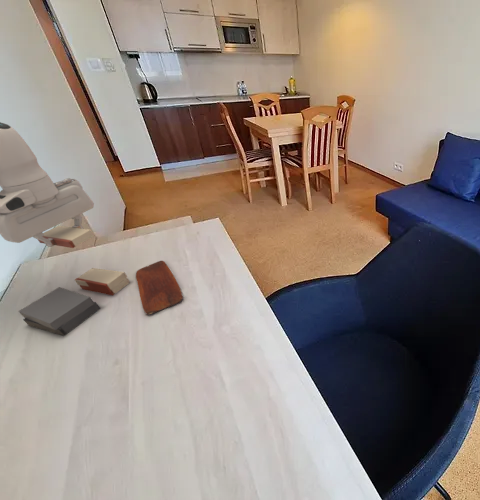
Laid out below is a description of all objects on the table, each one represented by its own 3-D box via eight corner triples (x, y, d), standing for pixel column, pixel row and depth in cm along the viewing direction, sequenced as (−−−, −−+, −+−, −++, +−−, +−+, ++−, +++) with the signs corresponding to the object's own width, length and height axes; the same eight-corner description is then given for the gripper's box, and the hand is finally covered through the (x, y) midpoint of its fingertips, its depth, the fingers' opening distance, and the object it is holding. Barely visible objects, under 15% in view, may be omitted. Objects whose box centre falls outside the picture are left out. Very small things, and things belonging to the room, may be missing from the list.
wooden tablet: (185, 301, 86) (183, 296, 85) (146, 318, 81) (144, 314, 80) (167, 259, 104) (165, 255, 103) (134, 272, 99) (132, 268, 98)
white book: (40, 243, 82) (35, 236, 81) (63, 231, 87) (58, 225, 86) (73, 248, 79) (68, 241, 78) (95, 236, 83) (91, 229, 82)
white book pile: (81, 289, 93) (73, 279, 91) (101, 276, 99) (94, 266, 96) (112, 296, 90) (105, 286, 87) (131, 282, 95) (125, 272, 93)
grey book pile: (26, 326, 82) (13, 313, 79) (67, 299, 90) (57, 286, 87) (63, 337, 78) (51, 324, 75) (103, 307, 86) (93, 294, 83)
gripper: (67, 175, 84) (94, 218, 92) (-26, 208, 68) (17, 258, 76) (82, 176, 82) (109, 220, 90) (-9, 210, 66) (33, 261, 74)
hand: (66, 238), depth 83 cm, fingers closed on white book, 6 cm apart
